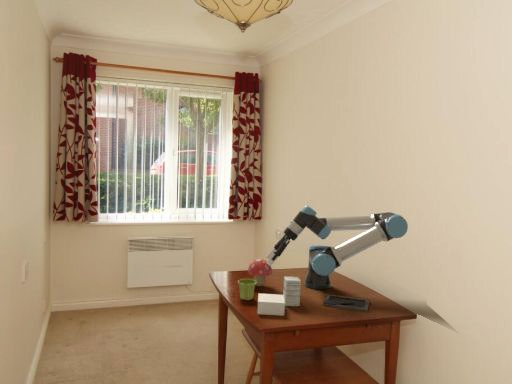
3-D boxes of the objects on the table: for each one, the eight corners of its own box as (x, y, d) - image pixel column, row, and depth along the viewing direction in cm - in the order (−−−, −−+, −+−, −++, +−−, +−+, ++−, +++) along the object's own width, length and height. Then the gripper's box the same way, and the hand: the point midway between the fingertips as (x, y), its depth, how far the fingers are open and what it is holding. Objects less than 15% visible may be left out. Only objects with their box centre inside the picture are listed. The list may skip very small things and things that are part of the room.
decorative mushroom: (247, 282, 240) (248, 256, 239) (271, 283, 239) (272, 257, 238) (246, 289, 227) (247, 261, 226) (271, 290, 226) (272, 263, 225)
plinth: (282, 307, 202) (283, 294, 201) (284, 316, 190) (284, 303, 189) (257, 305, 202) (258, 293, 202) (257, 314, 190) (258, 301, 190)
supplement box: (282, 301, 210) (283, 275, 209) (297, 301, 211) (298, 276, 210) (284, 306, 203) (285, 280, 202) (299, 306, 203) (301, 280, 202)
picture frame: (322, 306, 207) (367, 313, 200) (323, 302, 206) (367, 308, 200) (327, 297, 222) (369, 302, 216) (327, 293, 222) (369, 299, 215)
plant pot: (241, 302, 205) (242, 284, 204) (233, 296, 213) (234, 279, 213) (258, 300, 209) (259, 283, 209) (250, 294, 218) (251, 278, 217)
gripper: (286, 223, 237) (262, 252, 239) (289, 230, 212) (262, 262, 214) (296, 231, 238) (273, 260, 239) (300, 239, 213) (274, 271, 214)
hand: (268, 261), depth 226 cm, fingers open, 13 cm apart
